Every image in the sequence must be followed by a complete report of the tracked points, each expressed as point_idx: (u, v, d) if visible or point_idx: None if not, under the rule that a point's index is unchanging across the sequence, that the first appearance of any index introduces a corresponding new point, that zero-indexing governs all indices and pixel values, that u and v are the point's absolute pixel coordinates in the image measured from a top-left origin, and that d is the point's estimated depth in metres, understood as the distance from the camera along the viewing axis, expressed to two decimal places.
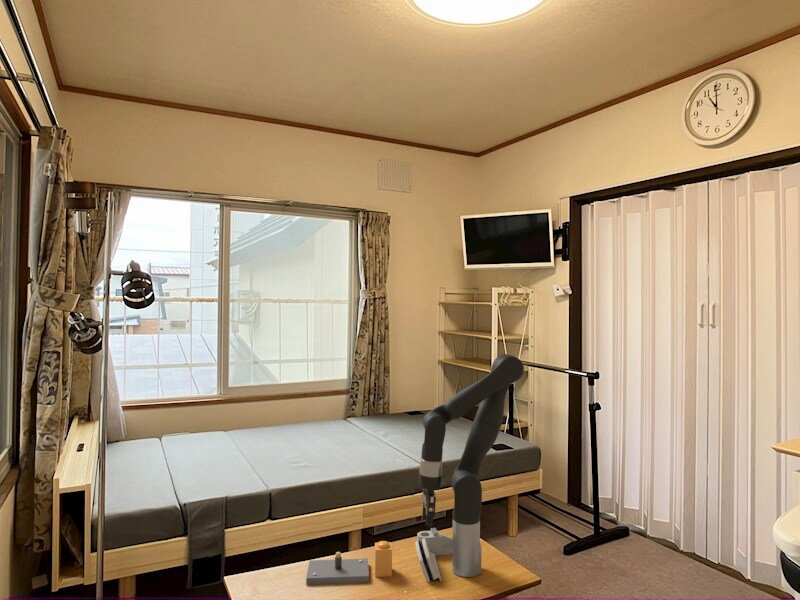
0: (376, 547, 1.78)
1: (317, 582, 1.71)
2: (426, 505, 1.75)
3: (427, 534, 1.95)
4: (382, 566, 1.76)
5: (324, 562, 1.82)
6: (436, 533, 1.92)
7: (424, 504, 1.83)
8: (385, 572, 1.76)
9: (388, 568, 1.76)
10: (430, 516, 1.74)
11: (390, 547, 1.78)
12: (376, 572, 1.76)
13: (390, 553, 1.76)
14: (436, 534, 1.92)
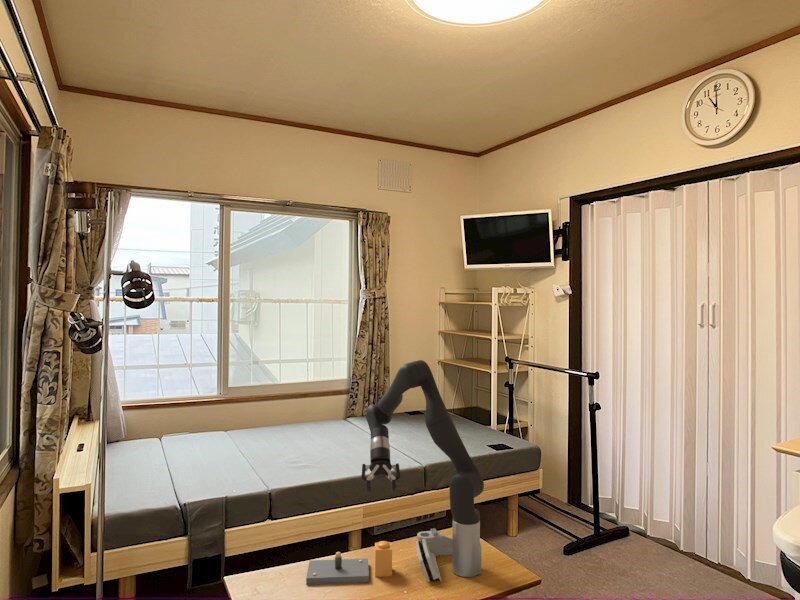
0: (376, 547, 1.78)
1: (317, 582, 1.71)
2: None
3: (427, 534, 1.94)
4: (382, 566, 1.76)
5: (324, 562, 1.82)
6: (436, 533, 1.92)
7: (392, 482, 1.96)
8: (385, 572, 1.76)
9: (388, 568, 1.76)
10: (366, 482, 1.94)
11: (390, 547, 1.78)
12: (376, 572, 1.76)
13: (390, 553, 1.76)
14: (436, 534, 1.92)
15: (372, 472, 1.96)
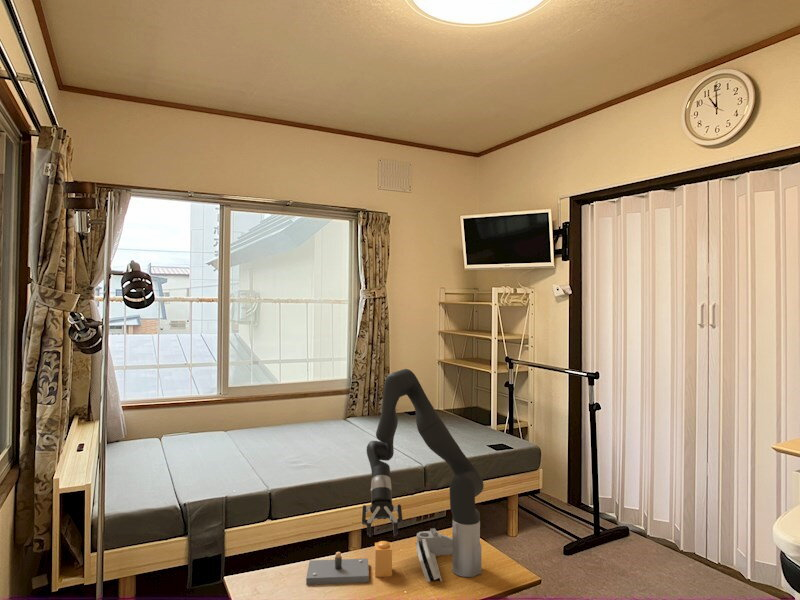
0: (376, 547, 1.78)
1: (317, 582, 1.71)
2: None
3: (426, 534, 1.94)
4: (382, 566, 1.76)
5: (324, 562, 1.82)
6: (436, 533, 1.92)
7: None
8: (385, 572, 1.76)
9: (388, 568, 1.76)
10: (367, 525, 1.86)
11: (390, 547, 1.78)
12: (376, 572, 1.76)
13: (390, 553, 1.76)
14: (436, 534, 1.92)
15: (373, 514, 1.87)
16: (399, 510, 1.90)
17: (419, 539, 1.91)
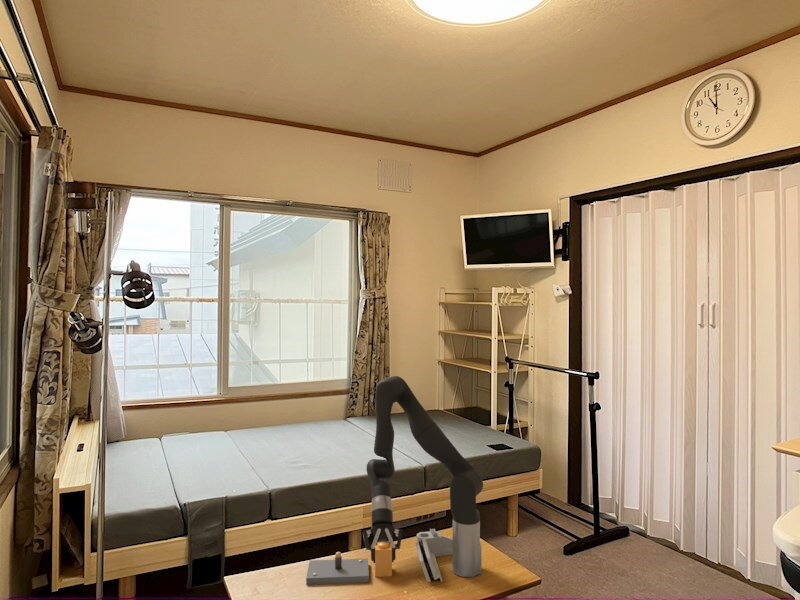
0: (376, 547, 1.78)
1: (317, 582, 1.71)
2: None
3: (426, 535, 1.94)
4: (382, 566, 1.76)
5: (324, 562, 1.82)
6: (436, 534, 1.92)
7: None
8: (385, 572, 1.76)
9: (388, 568, 1.76)
10: (371, 551, 1.79)
11: (390, 547, 1.78)
12: (376, 572, 1.76)
13: (390, 553, 1.76)
14: (436, 535, 1.91)
15: (375, 538, 1.80)
16: (399, 535, 1.82)
17: (419, 540, 1.90)
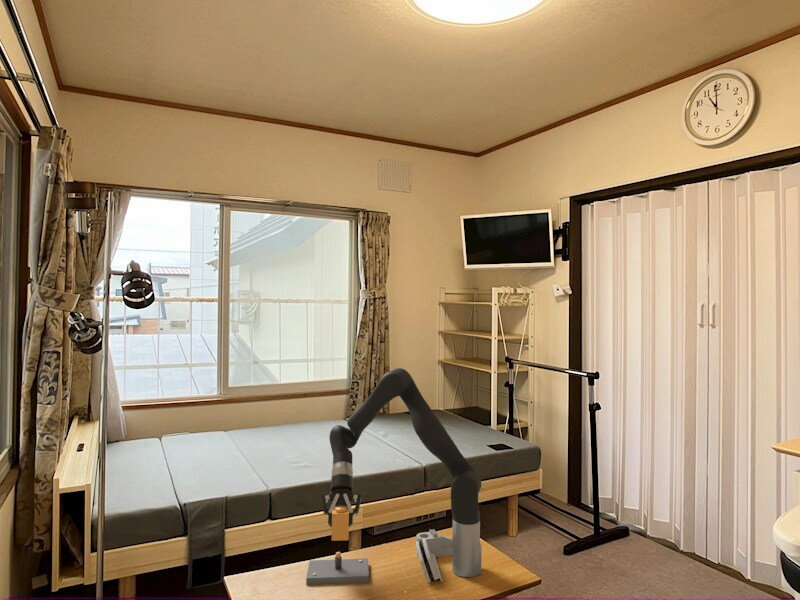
0: (333, 511, 1.77)
1: (317, 582, 1.71)
2: None
3: (426, 535, 1.93)
4: (339, 530, 1.75)
5: (324, 562, 1.82)
6: (435, 534, 1.91)
7: None
8: (341, 536, 1.75)
9: (344, 532, 1.75)
10: (328, 515, 1.78)
11: (347, 511, 1.77)
12: (332, 536, 1.75)
13: (347, 517, 1.76)
14: (435, 535, 1.91)
15: (333, 503, 1.80)
16: (358, 500, 1.82)
17: (419, 540, 1.90)
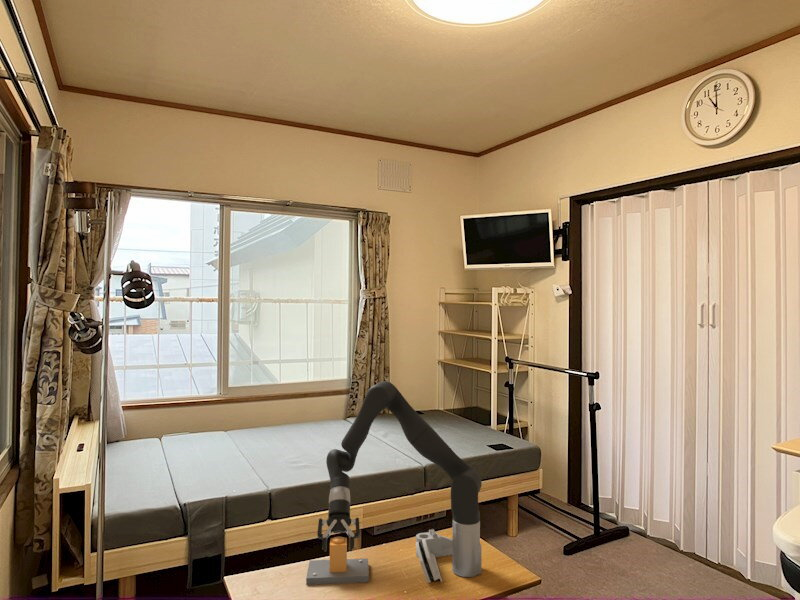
0: (331, 542, 1.77)
1: (317, 582, 1.71)
2: None
3: (425, 536, 1.93)
4: (336, 561, 1.75)
5: (324, 562, 1.82)
6: (435, 534, 1.91)
7: None
8: (339, 567, 1.75)
9: (342, 563, 1.75)
10: None
11: (345, 542, 1.77)
12: (330, 567, 1.75)
13: (344, 548, 1.75)
14: (435, 535, 1.91)
15: (329, 528, 1.80)
16: (357, 523, 1.82)
17: (419, 541, 1.89)
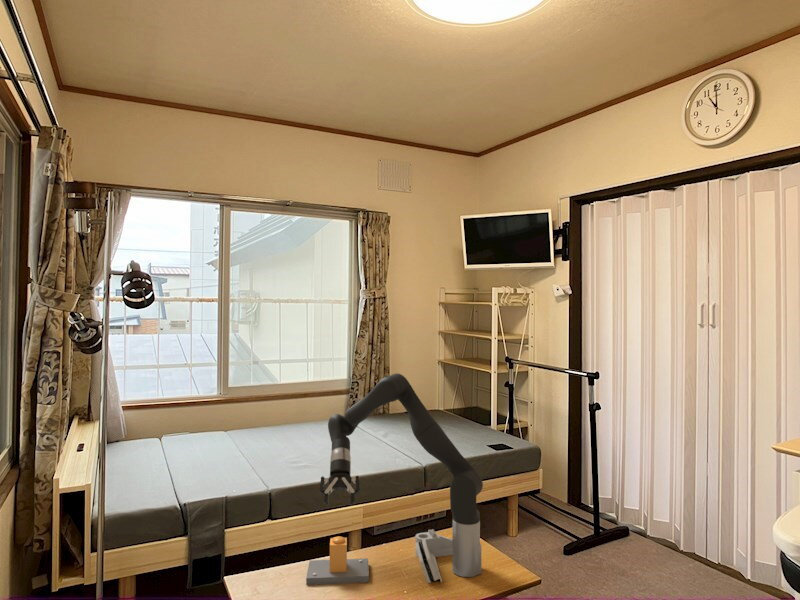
0: (331, 542, 1.77)
1: (317, 582, 1.71)
2: None
3: (425, 536, 1.93)
4: (336, 561, 1.75)
5: (324, 562, 1.82)
6: (434, 534, 1.91)
7: None
8: (339, 567, 1.75)
9: (342, 563, 1.75)
10: (324, 495, 1.89)
11: (345, 542, 1.77)
12: (330, 567, 1.75)
13: (344, 548, 1.75)
14: (435, 535, 1.91)
15: (330, 485, 1.90)
16: (357, 481, 1.93)
17: (418, 541, 1.90)
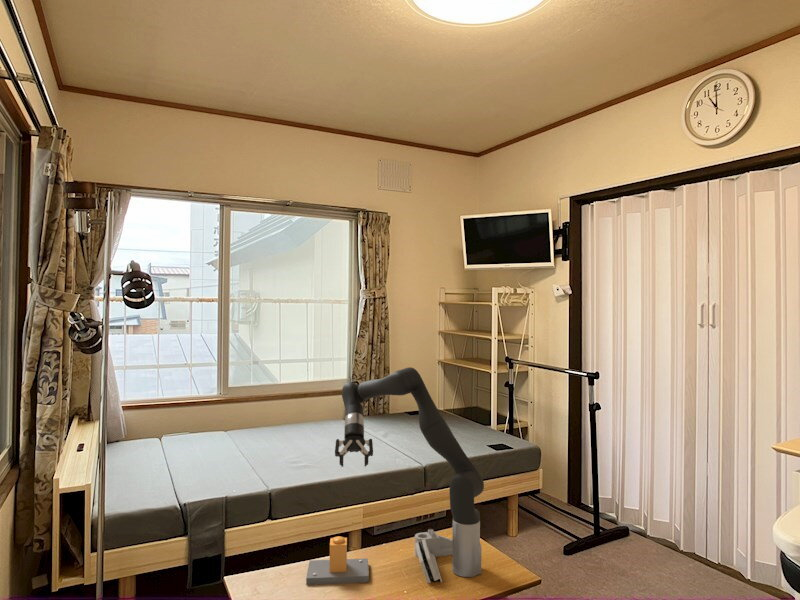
0: (331, 542, 1.77)
1: (317, 582, 1.71)
2: None
3: (424, 536, 1.93)
4: (336, 561, 1.75)
5: (324, 562, 1.82)
6: (434, 534, 1.91)
7: (365, 456, 2.00)
8: (339, 567, 1.75)
9: (342, 563, 1.75)
10: (339, 456, 1.98)
11: (345, 542, 1.77)
12: (330, 567, 1.75)
13: (344, 548, 1.75)
14: (434, 535, 1.91)
15: (345, 447, 1.99)
16: (370, 443, 2.01)
17: (417, 540, 1.90)
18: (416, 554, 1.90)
